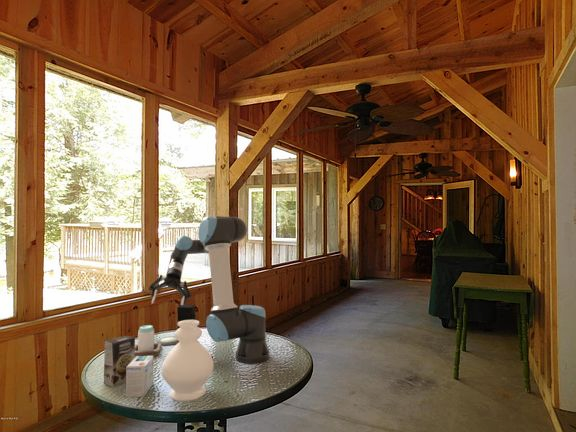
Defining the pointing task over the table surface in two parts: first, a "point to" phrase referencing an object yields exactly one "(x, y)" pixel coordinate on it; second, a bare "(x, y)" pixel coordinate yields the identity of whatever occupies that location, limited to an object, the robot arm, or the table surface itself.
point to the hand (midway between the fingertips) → (167, 305)
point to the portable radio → (185, 313)
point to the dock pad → (167, 341)
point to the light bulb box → (139, 376)
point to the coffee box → (118, 359)
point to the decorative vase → (187, 364)
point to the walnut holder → (149, 353)
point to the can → (146, 338)
